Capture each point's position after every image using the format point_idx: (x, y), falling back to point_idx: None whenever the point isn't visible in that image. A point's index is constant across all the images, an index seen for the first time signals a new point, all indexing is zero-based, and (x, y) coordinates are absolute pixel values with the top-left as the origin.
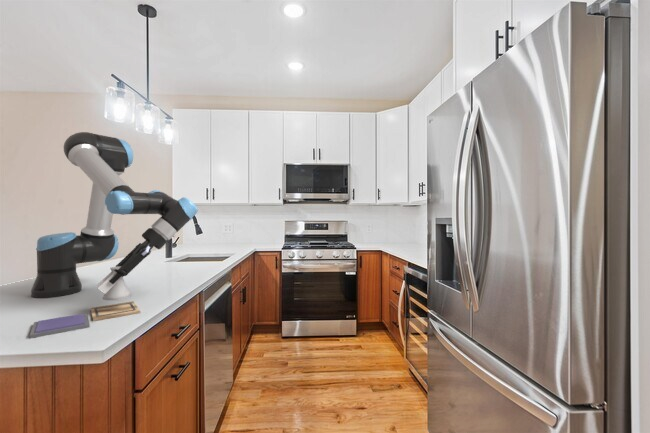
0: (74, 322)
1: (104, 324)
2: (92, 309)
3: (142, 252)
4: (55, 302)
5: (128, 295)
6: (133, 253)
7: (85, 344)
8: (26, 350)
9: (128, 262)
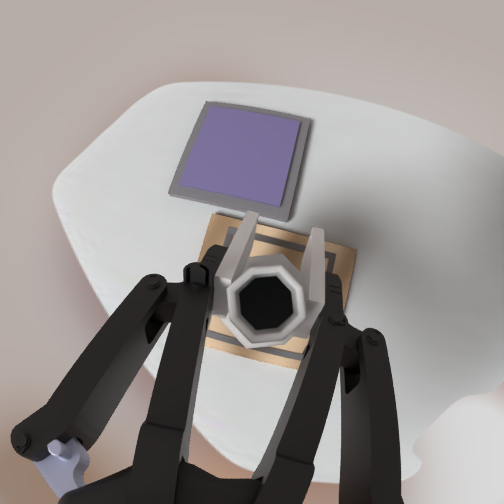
0: (203, 167)
1: (159, 227)
2: (332, 247)
3: (35, 422)
4: (484, 217)
5: (232, 333)
6: (140, 428)
7: (83, 169)
8: (144, 102)
9: (104, 328)
